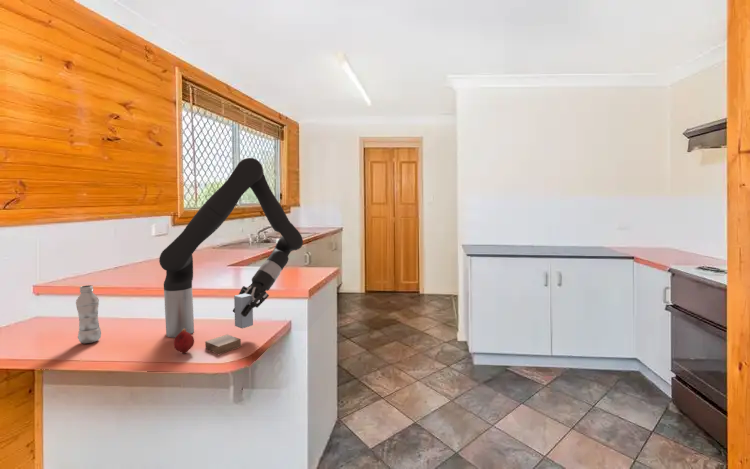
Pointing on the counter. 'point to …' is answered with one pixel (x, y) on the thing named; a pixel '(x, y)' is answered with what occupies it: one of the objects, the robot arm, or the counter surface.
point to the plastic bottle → (88, 315)
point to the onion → (183, 341)
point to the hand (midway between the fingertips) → (238, 313)
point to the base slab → (223, 344)
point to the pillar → (239, 305)
